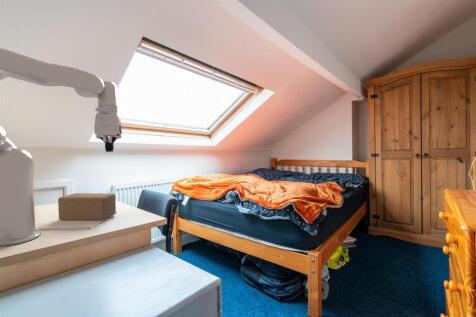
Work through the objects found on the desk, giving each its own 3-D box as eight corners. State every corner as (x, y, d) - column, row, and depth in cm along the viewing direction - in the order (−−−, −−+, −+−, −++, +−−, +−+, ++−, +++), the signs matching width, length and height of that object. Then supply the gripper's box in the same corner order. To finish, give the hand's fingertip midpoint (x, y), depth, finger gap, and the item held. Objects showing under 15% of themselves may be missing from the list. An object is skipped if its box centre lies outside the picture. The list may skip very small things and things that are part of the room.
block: (116, 193, 106) (74, 193, 107) (102, 197, 96) (56, 197, 97) (116, 214, 107) (75, 214, 108) (103, 221, 97) (57, 220, 98)
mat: (38, 229, 89) (38, 228, 89) (74, 213, 111) (74, 212, 111) (92, 228, 90) (91, 226, 90) (117, 212, 112) (117, 211, 112)
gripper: (85, 109, 98) (87, 152, 99) (120, 109, 99) (122, 151, 100) (95, 112, 106) (97, 151, 107) (128, 111, 106) (130, 151, 107)
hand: (109, 151), depth 103 cm, fingers closed
